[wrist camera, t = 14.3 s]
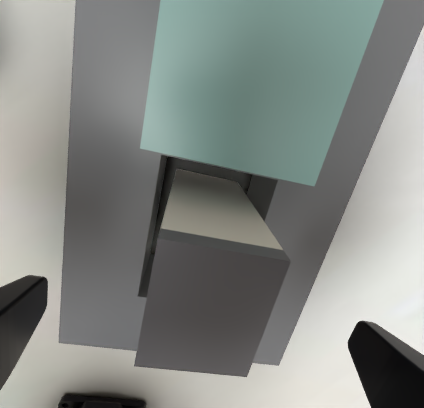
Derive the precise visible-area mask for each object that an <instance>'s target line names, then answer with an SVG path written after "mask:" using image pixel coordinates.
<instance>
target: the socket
mask: <svg viewBox="0 0 424 408" xmlns="http://www.w3.org/2000/svg"><path fill="white" fill-rule="evenodd" d="M159 7H160V0H76V7H75V27H74V47H73V67H72V87H71V107H70V127H69V147H68V167H67V187H66V207H65V227H64V247H63V267H62V287H61V307H60V327H59V343H65V344H75V345H85V346H94V347H104V348H114V349H124V350H133V351H137V348H138V342H139V337H140V332H141V326H142V321H143V315H144V310H145V304H146V299H147V294H148V288H149V283H150V277H151V272H152V267H153V261H154V256H155V254H150V253H151V247H152V242H153V236H154V230H155V225H156V219H157V213H158V207H159V202H160V196H161V190H162V184H163V179H164V173H165V167H166V161H167V156H169V157H174V158H179V159H183V160H188V161H192V162H197V163H202V164H206V165H211V166H215V167H220V168H225V169H229V170H234V171H238V172H243V173H248V174H252V178H251V182H250V185H249V189H248V192H247V197H248V198H249V200H250V201H251V203H252V204H253V206H254V207H255V209H256V210H257V212H258V213H259V215H260V216H261V218H262V219H263V221H264V222H265V224H266V225H267V226H268V228H269V229H270V231H271V232H272V234H273V235H274V237H275V238H276V240H277V241H278V243H279V244H280V246H281V247H282V249H283V250H284V252H285V253H286V255H287V256H288V258H289V259H290V260H291V263H290V265H289V268H288V271H287V273H286V276H285V278H284V281H283V284H282V286H281V289H280V292H279V294H278V297H277V299H276V302H275V305H274V307H273V310H272V312H271V315H270V318H269V320H268V323H267V326H266V328H265V331H264V333H263V336H262V339H261V341H260V344H259V346H258V349H257V352H256V354H255V357H254V360H253V362H252V363H259V364H269V365H278V366H279V364H280V361H281V359H282V357H283V354H284V352H285V350H286V347H287V345H288V343H289V340H290V338H291V336H292V333H293V331H294V328H295V326H296V324H297V321H298V319H299V317H300V314H301V312H302V310H303V307H304V305H305V303H306V300H307V298H308V296H309V293H310V291H311V289H312V286H313V284H314V281H315V279H316V277H317V274H318V272H319V270H320V267H321V265H322V263H323V260H324V258H325V256H326V253H327V251H328V249H329V246H330V244H331V242H332V239H333V237H334V235H335V232H336V230H337V227H338V225H339V223H340V220H341V218H342V216H343V213H344V211H345V209H346V206H347V204H348V202H349V199H350V197H351V195H352V192H353V190H354V188H355V185H356V183H357V180H358V178H359V176H360V173H361V171H362V169H363V166H364V164H365V162H366V159H367V157H368V155H369V152H370V150H371V148H372V145H373V143H374V141H375V138H376V136H377V133H378V131H379V129H380V126H381V124H382V122H383V119H384V117H385V115H386V112H387V110H388V108H389V105H390V103H391V101H392V98H393V96H394V94H395V91H396V89H397V86H398V84H399V82H400V79H401V77H402V75H403V72H404V70H405V68H406V65H407V63H408V61H409V58H410V56H411V54H412V51H413V49H414V47H415V44H416V42H417V39H418V37H419V35H420V32H421V30H422V28H423V25H424V0H384V1H383V4H382V7H381V9H380V12H379V15H378V18H377V20H376V23H375V26H374V28H373V31H372V34H371V36H370V39H369V42H368V44H367V47H366V50H365V52H364V55H363V58H362V60H361V63H360V66H359V68H358V71H357V74H356V77H355V79H354V82H353V85H352V87H351V90H350V93H349V95H348V98H347V101H346V103H345V106H344V109H343V111H342V114H341V117H340V119H339V122H338V125H337V127H336V130H335V133H334V136H333V138H332V141H331V144H330V146H329V149H328V152H327V154H326V157H325V160H324V162H323V165H322V168H321V170H320V173H319V176H318V178H317V181H316V184H315V186H310V185H305V184H301V183H296V182H291V181H287V180H282V179H278V178H273V177H268V176H264V175H259V174H255V173H250V172H246V171H241V170H236V169H232V168H227V167H223V166H218V165H214V164H209V163H204V162H200V161H195V160H191V159H186V158H181V157H177V156H172V155H168V154H163V153H159V152H154V151H149V150H145V149H140V144H141V137H142V130H143V123H144V116H145V108H146V101H147V94H148V87H149V79H150V72H151V65H152V58H153V51H154V43H155V36H156V29H157V22H158V15H159Z"/></svg>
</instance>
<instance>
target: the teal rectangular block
mask: <svg viewBox="0 0 424 408" xmlns="http://www.w3.org/2000/svg"><path fill="white" fill-rule="evenodd" d="M383 1H384V0H160V7H159V15H158V22H157V29H156V36H155V43H154V51H153V58H152V65H151V72H150V79H149V87H148V94H147V101H146V108H145V116H144V123H143V130H142V137H141V144H140V149H145V150H149V151H154V152H159V153H163V154H168V155H172V156H177V157H181V158H186V159H191V160H195V161H200V162H204V163H209V164H214V165H218V166H223V167H227V168H232V169H236V170H241V171H246V172H250V173H255V174H259V175H264V176H268V177H273V178H278V179H282V180H287V181H291V182H296V183H301V184H305V185H310V186H315V184H316V181H317V178H318V176H319V173H320V170H321V168H322V165H323V162H324V160H325V157H326V154H327V152H328V149H329V146H330V144H331V141H332V138H333V136H334V133H335V130H336V127H337V125H338V122H339V119H340V117H341V114H342V111H343V109H344V106H345V103H346V101H347V98H348V95H349V93H350V90H351V87H352V85H353V82H354V79H355V77H356V74H357V71H358V68H359V66H360V63H361V60H362V58H363V55H364V52H365V50H366V47H367V44H368V42H369V39H370V36H371V34H372V31H373V28H374V26H375V23H376V20H377V18H378V15H379V12H380V9H381V7H382V4H383Z"/></svg>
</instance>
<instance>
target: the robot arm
mask: <svg viewBox="0 0 424 408" xmlns="http://www.w3.org/2000/svg"><path fill="white" fill-rule="evenodd" d="M47 291H48V281H47V279H46V278H45V277H41V276H34V275H28V276H25V277H23V278H21V279H18V280H16V281H14V282H11V283H9V284H7V285H4V286H2V287H0V390H1V388H2V387H3V385H4V384H5V382H6V381H7V379H8V377H9V376H10V374H11V372H12V371H13V369H14V367H15V365H16V364H17V362H18V360H19V358H20V356H21V354H22V353H23V351H24V349H25V347H26V345H27V343H28V342H29V340H30V338H31V336H32V334H33V332H34V331H35V329H36V327H37V325H38V323H39V321H40V319H41V318H42V316H43V314H44V312H45V309H46V306H47ZM348 349H349V352H350V354H351V357H352V359H353V362H354V365H355V367H356V370H357V373H358V375H359V378H360V380H361V383H362V386H363V388H364V391H365V393H366V396H367V399H368V401H369V403H370V406H371V408H424V355H422V354H421V353H419V352H418V351H416V350H415V349H413V348H412V347H410V346H409V345H407V344H406V343H404V342H403V341H401V340H400V339H398V338H397V337H395V336H394V335H392V334H391V333H389V332H388V331H386V330H385V329H383V328H382V327H380V326H379V325H377V324H375V323H373V322H368V321H359V322H358V323H357V324H356V326H355V328H354V330H353V332H352V334H351V336H350V338H349V340H348ZM58 408H146V403H145V402H144V401H137V400H124V399H111V398H97V397H84V396H71V395H65V396H63V397H62V398H61V400H60V402H59V405H58Z"/></svg>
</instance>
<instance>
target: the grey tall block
mask: <svg viewBox="0 0 424 408" xmlns="http://www.w3.org/2000/svg"><path fill="white" fill-rule="evenodd" d="M290 263H291V260H290V259H289V258H288V256H287V255H286V253H285V252H284V250H283V249H282V247H281V246H280V244H279V243H278V241H277V240H276V238H275V237H274V235H273V234H272V232H271V231H270V229H269V228H268V226H267V225H266V224H265V222H264V221H263V219H262V218H261V216H260V215H259V213H258V212H257V210H256V209H255V207H254V206H253V204H252V203H251V201H250V200H249V198H248V197H247V195H246V194H245V192H244V191H243V190H242V188H241V187H240V185H239V184H238V182H237V181H232V180H227V179H223V178H218V177H213V176H209V175H204V174H199V173H195V172H190V171H185V170H181V169H176V173H175V177H174V180H173V184H172V188H171V191H170V195H169V199H168V202H167V206H166V210H165V213H164V217H163V221H162V224H161V228H160V232H159V235H158V239H157V245H156V250H155V256H154V261H153V267H152V272H151V277H150V283H149V288H148V294H147V299H146V304H145V310H144V315H143V321H142V326H141V332H140V337H139V342H138V348H137V353H136V359H135V364H134V366H138V367H148V368H159V369H169V370H179V371H190V372H200V373H211V374H221V375H231V376H242V377H247V375H248V373H249V370H250V367H251V365H252V362H253V360H254V357H255V354H256V352H257V349H258V346H259V344H260V341H261V339H262V336H263V333H264V331H265V328H266V326H267V323H268V320H269V318H270V315H271V312H272V310H273V307H274V305H275V302H276V299H277V297H278V294H279V292H280V289H281V286H282V284H283V281H284V278H285V276H286V273H287V271H288V268H289V265H290Z"/></svg>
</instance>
